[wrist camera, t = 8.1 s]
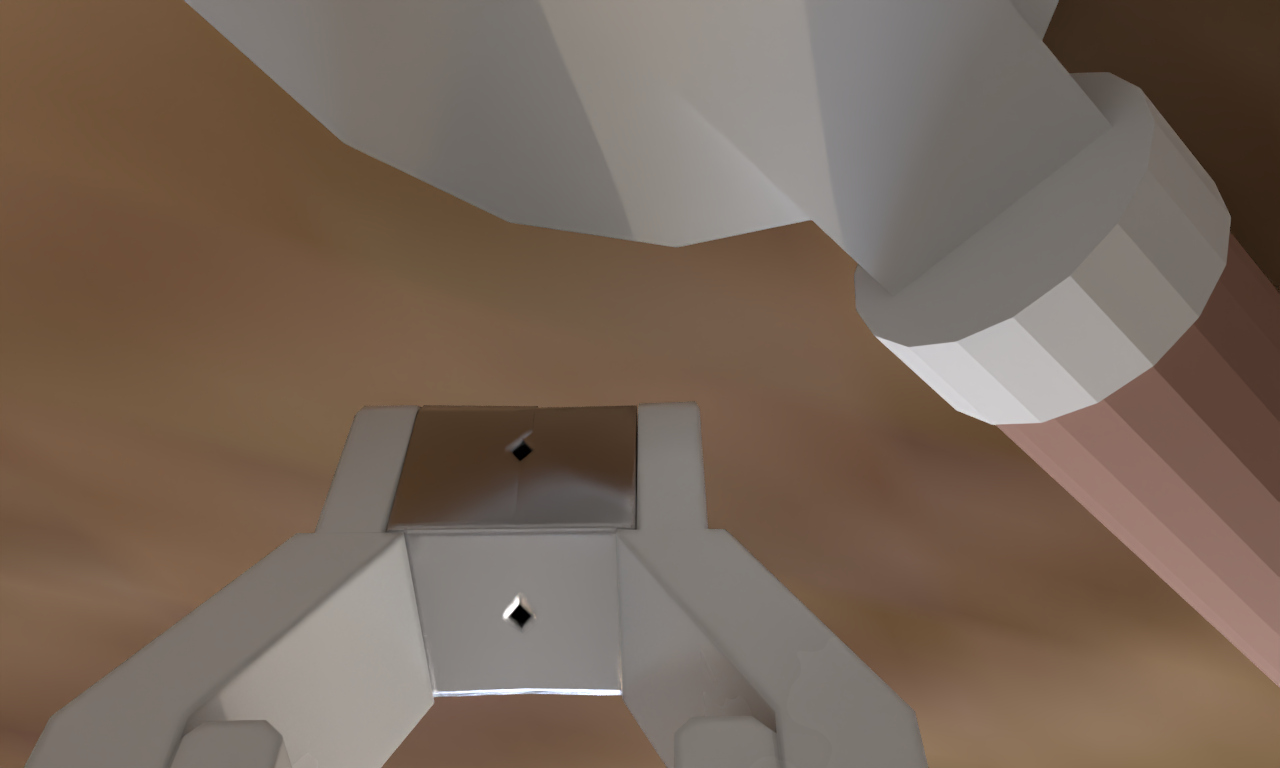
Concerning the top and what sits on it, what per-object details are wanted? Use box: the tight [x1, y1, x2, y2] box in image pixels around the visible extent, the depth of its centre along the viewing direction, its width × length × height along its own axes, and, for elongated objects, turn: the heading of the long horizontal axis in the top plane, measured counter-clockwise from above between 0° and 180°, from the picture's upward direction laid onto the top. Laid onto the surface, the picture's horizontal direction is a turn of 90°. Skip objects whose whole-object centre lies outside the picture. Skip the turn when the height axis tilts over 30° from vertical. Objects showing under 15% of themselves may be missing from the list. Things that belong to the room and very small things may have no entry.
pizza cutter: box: [184, 0, 1280, 687], centre depth 10 cm, size 20×6×3 cm, turn 46°
